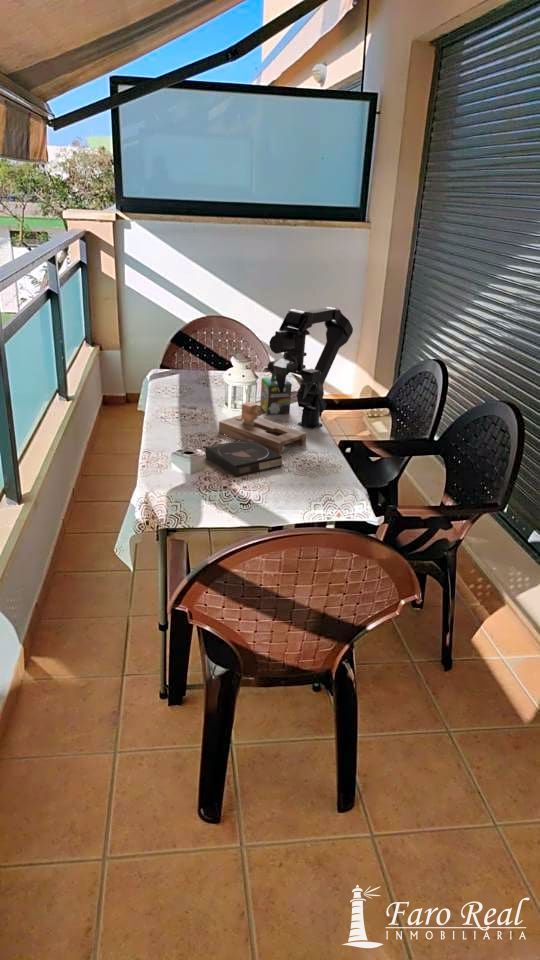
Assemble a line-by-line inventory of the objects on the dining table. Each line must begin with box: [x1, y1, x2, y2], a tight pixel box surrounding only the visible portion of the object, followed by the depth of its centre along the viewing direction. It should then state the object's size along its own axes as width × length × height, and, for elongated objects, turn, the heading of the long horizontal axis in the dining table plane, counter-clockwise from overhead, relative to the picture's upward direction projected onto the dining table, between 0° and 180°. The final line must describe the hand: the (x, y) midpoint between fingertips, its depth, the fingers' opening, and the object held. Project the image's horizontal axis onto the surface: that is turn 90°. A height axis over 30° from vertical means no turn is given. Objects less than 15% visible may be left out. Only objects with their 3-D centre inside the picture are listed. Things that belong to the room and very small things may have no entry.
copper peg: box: [241, 401, 258, 426], centre depth 224 cm, size 4×4×10 cm
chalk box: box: [260, 373, 293, 415], centre depth 249 cm, size 9×9×15 cm
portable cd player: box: [204, 438, 283, 478], centre depth 202 cm, size 16×17×4 cm
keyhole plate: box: [218, 414, 307, 455], centre depth 222 cm, size 14×26×4 cm, turn 50°
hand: (291, 395), depth 225 cm, fingers open, 9 cm apart
